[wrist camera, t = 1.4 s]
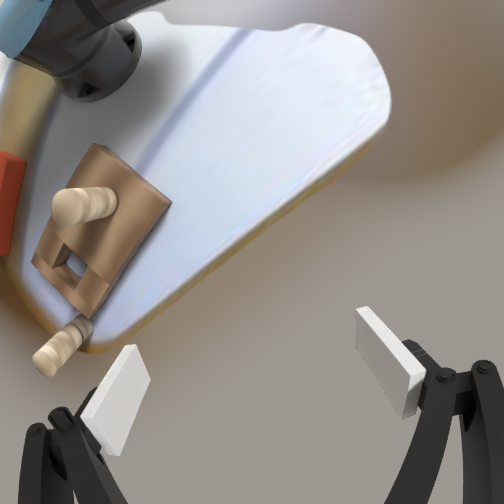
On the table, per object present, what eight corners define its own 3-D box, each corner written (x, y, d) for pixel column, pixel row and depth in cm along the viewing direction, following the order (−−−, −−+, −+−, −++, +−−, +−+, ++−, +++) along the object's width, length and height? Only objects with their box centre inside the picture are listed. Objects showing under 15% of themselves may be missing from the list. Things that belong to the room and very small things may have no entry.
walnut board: (44, 256, 39) (-9, 280, 26) (105, 146, 36) (50, 133, 22) (99, 309, 42) (56, 351, 28) (172, 201, 38) (136, 210, 25)
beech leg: (72, 323, 42) (30, 363, 29) (80, 308, 42) (35, 347, 28) (89, 338, 43) (50, 382, 29) (97, 324, 42) (57, 368, 29)
